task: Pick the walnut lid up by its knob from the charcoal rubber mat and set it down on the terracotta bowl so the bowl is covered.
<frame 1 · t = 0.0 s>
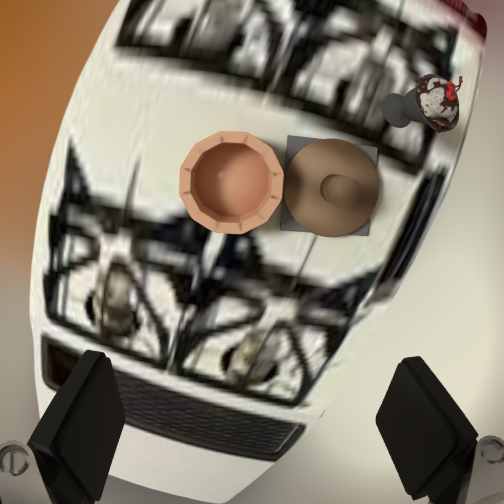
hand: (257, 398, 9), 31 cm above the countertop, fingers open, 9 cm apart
mat: (329, 186, 38), on the countertop
bowl: (231, 179, 37), on the countertop
sundae: (396, 110, 35), on the countertop
lid: (331, 187, 37), point 1 cm above the countertop, touching mat
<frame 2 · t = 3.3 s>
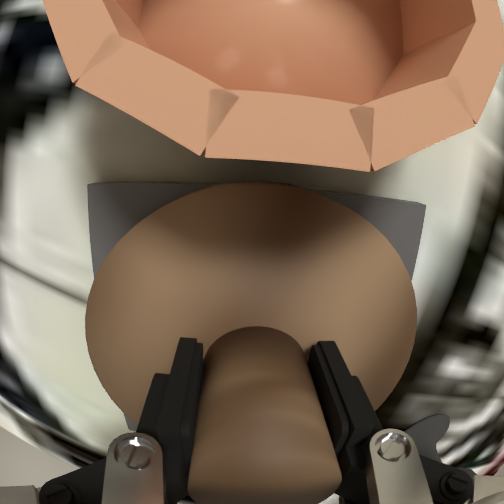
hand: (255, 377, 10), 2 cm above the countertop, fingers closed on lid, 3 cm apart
mat: (252, 340, 12), on the countertop
bowl: (275, 11, 8), on the countertop
sundae: (418, 435, 16), on the countertop
lid: (253, 349, 11), point 1 cm above the countertop, touching gripper, mat
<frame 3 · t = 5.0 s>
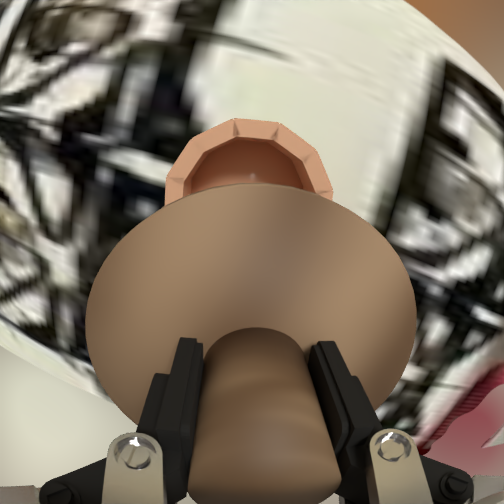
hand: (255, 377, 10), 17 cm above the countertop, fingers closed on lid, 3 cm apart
bowl: (246, 194, 25), on the countertop
lid: (253, 350, 11), point 15 cm above the countertop, touching gripper
when the fingers open (8 cm above the countertop, at t = 7.2 s): lid drops 2 cm, resting on bowl.
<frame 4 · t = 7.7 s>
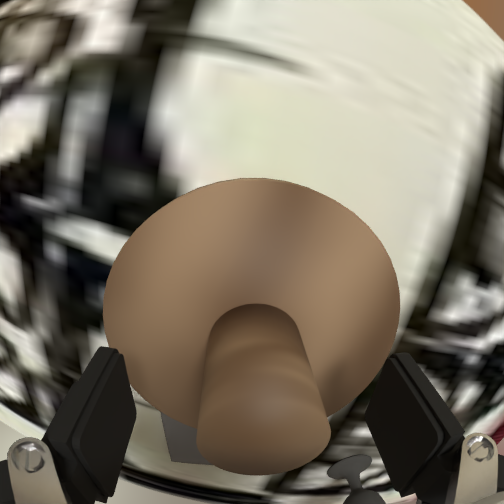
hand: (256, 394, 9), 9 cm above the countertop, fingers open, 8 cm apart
mat: (238, 423, 21), on the countertop
sundae: (349, 465, 25), on the countertop
lid: (253, 327, 13), point 5 cm above the countertop, touching bowl
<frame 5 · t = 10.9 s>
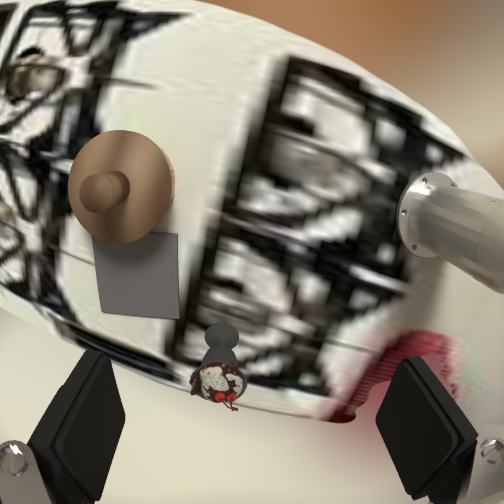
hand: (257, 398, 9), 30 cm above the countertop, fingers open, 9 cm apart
mat: (136, 275, 39), on the countertop
sundae: (222, 336, 43), on the countertop
lid: (119, 186, 31), point 5 cm above the countertop, touching bowl
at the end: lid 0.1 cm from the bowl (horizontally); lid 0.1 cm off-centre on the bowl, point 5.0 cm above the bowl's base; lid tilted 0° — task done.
